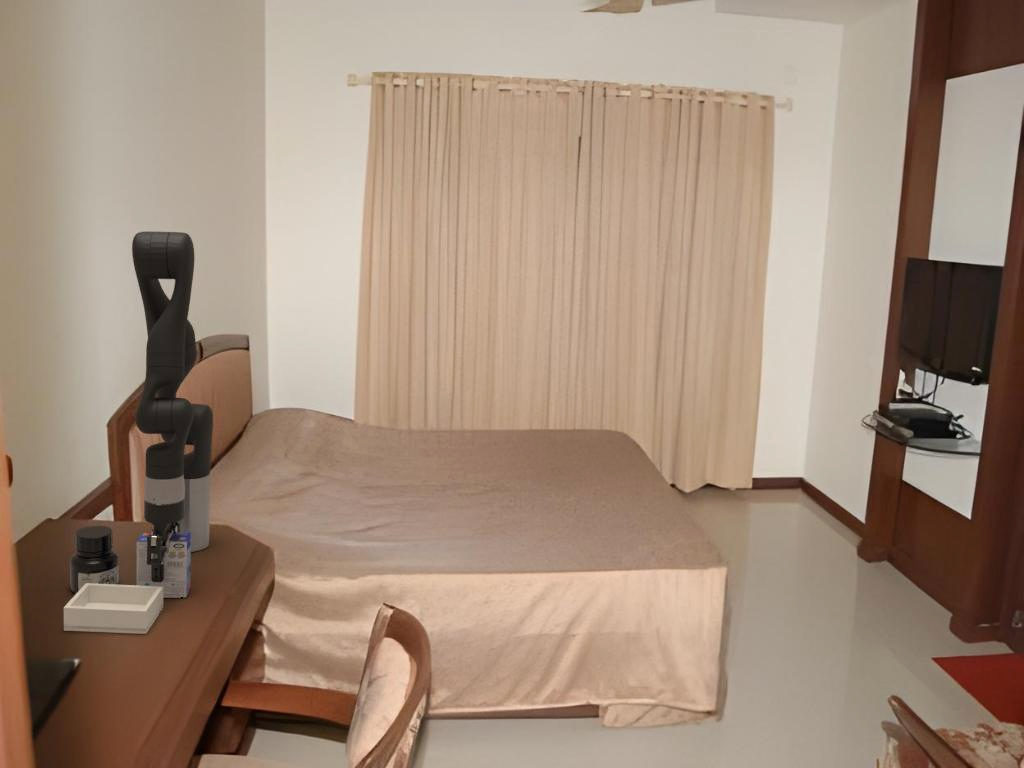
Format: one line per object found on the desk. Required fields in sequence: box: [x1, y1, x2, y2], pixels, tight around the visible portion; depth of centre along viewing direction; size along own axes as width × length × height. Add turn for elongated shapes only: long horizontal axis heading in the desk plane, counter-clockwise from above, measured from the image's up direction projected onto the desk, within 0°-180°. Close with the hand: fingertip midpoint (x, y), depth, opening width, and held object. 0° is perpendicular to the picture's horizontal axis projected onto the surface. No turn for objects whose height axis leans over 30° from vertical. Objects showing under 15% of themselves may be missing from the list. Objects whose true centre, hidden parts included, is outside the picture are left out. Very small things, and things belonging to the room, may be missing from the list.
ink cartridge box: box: [135, 523, 192, 599], centre depth 184 cm, size 10×6×14 cm, turn 102°
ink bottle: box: [69, 525, 120, 594], centre depth 184 cm, size 10×9×12 cm
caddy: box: [63, 583, 164, 635], centre depth 173 cm, size 11×15×4 cm
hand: (164, 572), depth 185 cm, fingers open, 8 cm apart
